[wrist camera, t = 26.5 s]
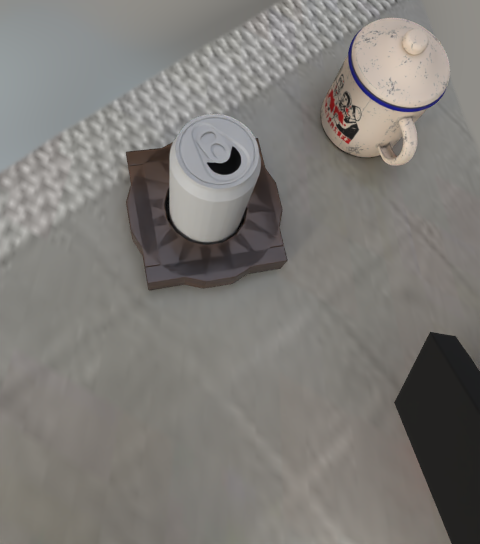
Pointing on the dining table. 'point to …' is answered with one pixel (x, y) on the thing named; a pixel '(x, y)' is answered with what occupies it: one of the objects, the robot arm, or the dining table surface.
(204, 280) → the socket pad
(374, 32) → the teacup with lid
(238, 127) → the beverage can
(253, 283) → the dining table surface
